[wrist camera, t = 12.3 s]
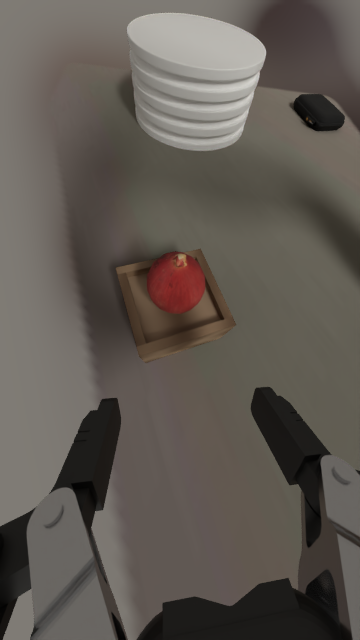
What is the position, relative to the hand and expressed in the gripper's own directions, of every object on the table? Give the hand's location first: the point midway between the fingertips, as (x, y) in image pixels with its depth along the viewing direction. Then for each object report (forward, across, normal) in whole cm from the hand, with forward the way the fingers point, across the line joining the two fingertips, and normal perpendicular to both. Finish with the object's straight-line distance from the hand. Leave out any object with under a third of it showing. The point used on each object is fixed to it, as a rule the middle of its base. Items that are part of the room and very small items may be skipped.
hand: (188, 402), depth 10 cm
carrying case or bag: (+60, -45, -42) cm, 85 cm away
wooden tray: (+16, 0, +1) cm, 17 cm away
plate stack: (+56, -8, -37) cm, 68 cm away
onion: (+13, 0, -2) cm, 13 cm away
